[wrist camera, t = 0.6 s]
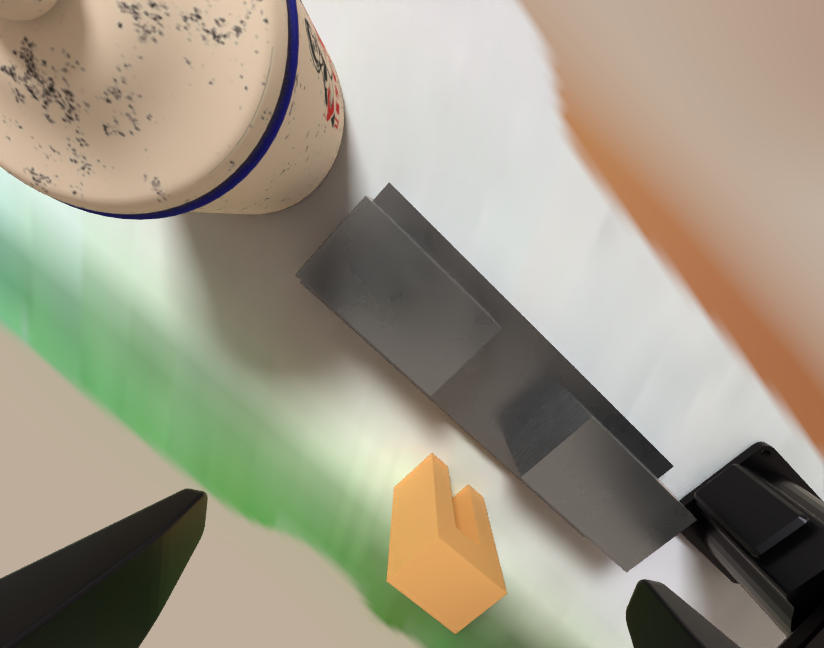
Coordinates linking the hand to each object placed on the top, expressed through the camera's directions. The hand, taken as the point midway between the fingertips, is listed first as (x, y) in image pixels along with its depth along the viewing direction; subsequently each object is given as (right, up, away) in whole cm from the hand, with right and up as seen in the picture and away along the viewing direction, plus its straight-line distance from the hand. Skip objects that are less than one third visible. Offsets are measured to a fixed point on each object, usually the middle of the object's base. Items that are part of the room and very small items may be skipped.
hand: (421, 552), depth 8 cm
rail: (+4, +2, +12) cm, 13 cm away
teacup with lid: (-8, +15, +10) cm, 20 cm away
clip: (+1, -5, +14) cm, 15 cm away
